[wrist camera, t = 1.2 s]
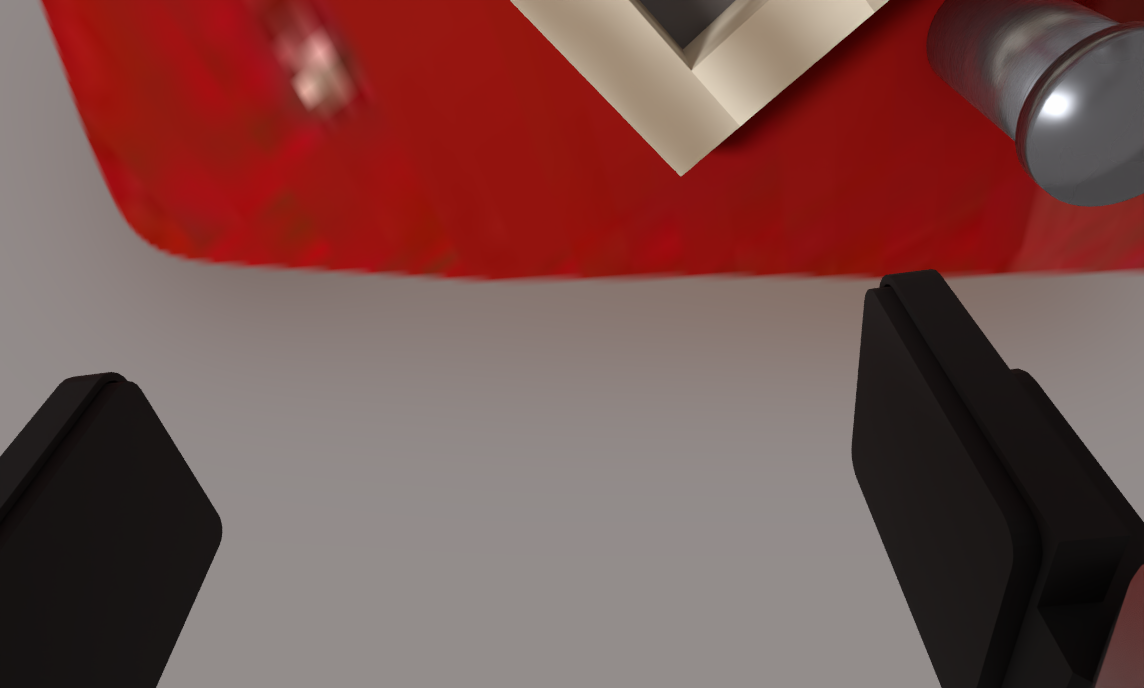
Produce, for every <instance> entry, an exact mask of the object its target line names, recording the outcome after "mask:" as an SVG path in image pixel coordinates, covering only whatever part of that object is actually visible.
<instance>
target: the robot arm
mask: <svg viewBox="0 0 1144 688" xmlns="http://www.w3.org/2000/svg"><path fill="white" fill-rule="evenodd" d="M853 426H854V427H853V438H852V461H853V467H854V471H855V475H856V478H857V480H858V483H859V485H860V488H861V490H862V492H863V495H864V497H865V500H866V502H867V505H868V507H869V510H870V512H871V514H872V517H873V520H874V522H875V524H876V527H877V529H878V532H879V534H880V537H881V539H882V542H883V544H884V546H885V549H886V551H887V554H888V557H889V559H890V561H891V564H892V566H893V569H894V571H895V574H896V576H897V579H898V581H899V584H900V586H901V589H902V591H903V593H904V596H905V598H906V601H907V603H908V606H909V608H910V611H911V613H912V616H913V618H914V621H915V623H916V625H917V628H918V631H919V633H920V635H921V638H922V640H923V643H924V645H925V648H926V650H927V653H928V655H929V657H930V660H931V662H932V665H933V667H934V670H935V672H936V675H937V677H938V680H939V682H940V685H941V687H942V688H1144V522H1143V521H1142V519H1141V518H1140V517H1139V515H1138V514H1137V513H1136V512H1135V510H1134V509H1133V508H1132V506H1131V505H1130V504H1129V503H1128V501H1127V500H1126V498H1125V497H1124V496H1123V494H1122V493H1121V492H1120V490H1119V489H1118V488H1117V487H1116V485H1115V484H1114V483H1113V481H1112V480H1111V479H1110V477H1109V476H1108V475H1107V474H1106V472H1105V471H1104V470H1103V468H1102V467H1101V466H1100V464H1099V463H1098V462H1097V460H1096V459H1095V458H1094V456H1093V455H1092V454H1091V452H1090V451H1089V450H1088V449H1087V447H1086V446H1085V445H1084V443H1083V442H1082V441H1081V439H1080V438H1079V437H1078V435H1077V434H1076V433H1075V431H1074V430H1073V429H1072V427H1071V426H1070V425H1069V424H1068V422H1067V421H1066V420H1065V418H1064V417H1063V416H1062V414H1061V413H1060V412H1059V410H1058V409H1057V408H1056V407H1055V405H1054V404H1053V402H1052V401H1051V400H1050V399H1049V397H1048V396H1047V395H1046V393H1045V392H1044V391H1043V389H1042V388H1041V387H1040V385H1039V384H1038V383H1037V382H1036V381H1035V379H1034V378H1033V377H1032V376H1031V375H1030V374H1029V373H1028V372H1026V371H1023V370H1021V369H1011V370H1010V369H1009V368H1008V366H1007V365H1006V363H1005V362H1004V361H1003V359H1002V358H1001V357H1000V355H999V354H998V353H997V351H996V350H995V348H994V347H993V346H992V344H991V343H990V342H989V340H988V339H987V338H986V336H985V335H984V333H983V332H982V331H981V329H980V328H979V327H978V325H977V324H976V323H975V321H974V320H973V319H972V317H971V316H970V314H969V313H968V312H967V310H966V309H965V308H964V306H963V305H962V303H961V302H960V301H959V299H958V298H957V296H956V295H955V294H954V292H953V291H952V290H951V288H950V287H949V286H948V284H947V283H946V281H945V280H944V279H943V277H942V276H941V275H940V274H939V273H938V272H937V271H936V270H933V269H929V270H921V271H913V272H905V273H898V274H890V275H885V276H884V277H883V278H882V280H881V282H880V287H879V288H874V289H869V290H868V291H867V292H866V295H865V300H864V312H863V323H862V334H861V346H860V358H859V368H858V381H857V392H856V403H855V414H854V425H853ZM221 538H222V523H221V519H220V517H219V515H218V513H217V512H216V510H215V508H214V507H213V505H212V504H211V502H210V500H209V499H208V497H207V495H206V494H205V492H204V490H203V489H202V487H201V486H200V484H199V483H198V481H197V479H196V478H195V476H194V474H193V473H192V471H191V469H190V468H189V466H188V465H187V463H186V461H185V460H184V458H183V457H182V455H181V453H180V452H179V450H178V448H177V447H176V445H175V444H174V442H173V440H172V439H171V437H170V435H169V434H168V432H167V431H166V429H165V427H164V426H163V424H162V423H161V421H160V419H159V418H158V416H157V415H156V413H155V411H154V410H153V408H152V406H151V405H150V403H149V402H148V400H147V398H146V397H145V395H144V393H143V392H142V390H141V389H140V388H139V387H138V385H137V384H135V383H133V382H130V381H127V380H126V379H125V378H124V377H123V376H122V375H120V374H118V373H114V372H108V373H100V374H92V375H84V376H76V377H71V378H68V379H65V380H64V381H63V382H62V383H61V384H59V386H58V387H57V388H56V389H55V391H54V392H53V393H52V394H51V395H50V397H49V398H48V399H47V400H46V401H45V403H44V404H43V405H42V406H41V408H40V409H39V410H38V411H37V413H36V414H35V415H34V416H33V417H32V419H31V420H30V421H29V422H28V423H27V425H26V426H25V427H24V428H23V430H22V431H21V432H20V433H19V434H18V436H17V437H16V438H15V439H14V441H13V442H12V443H11V444H10V445H9V447H8V448H7V449H6V450H5V451H4V453H3V454H2V455H1V456H0V688H156V686H157V684H158V682H159V680H160V677H161V675H162V673H163V671H164V668H165V666H166V664H167V662H168V659H169V657H170V655H171V653H172V650H173V648H174V646H175V644H176V641H177V639H178V637H179V634H180V632H181V630H182V628H183V626H184V624H185V621H186V619H187V617H188V615H189V612H190V610H191V608H192V605H193V603H194V601H195V599H196V597H197V594H198V592H199V590H200V587H201V585H202V583H203V581H204V579H205V577H206V574H207V572H208V570H209V568H210V565H211V563H212V561H213V559H214V556H215V554H216V552H217V549H218V547H219V545H220V542H221Z"/></svg>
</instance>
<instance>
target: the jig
mask: <svg viewBox="0 0 1144 688" xmlns="http://www.w3.org/2000/svg"><path fill="white" fill-rule="evenodd" d="M510 1H511V2H512V3H513V4H514V5H515V6H516V7H517V8H518V9H519V10H520V11H521V12H522V13H523V14H524V15H525V16H526V17H527V18H528V19H529V20H530V21H531V22H532V23H533V24H534V26H535V27H536V28H537V29H538V30H539V31H540V32H541V33H542V34H543V35H544V36H545V37H546V38H547V39H548V40H549V41H550V42H551V43H552V44H553V45H554V46H555V47H556V48H557V49H558V50H559V51H560V52H561V53H562V54H563V55H564V57H565V58H566V59H567V60H568V61H569V62H570V63H571V64H572V65H573V66H574V67H575V68H576V69H577V70H578V71H579V72H580V73H581V74H582V75H583V76H584V77H585V78H586V79H587V80H588V81H589V82H590V83H591V84H592V85H593V86H594V87H595V89H596V90H597V91H598V92H599V93H600V94H601V95H602V96H603V97H604V98H605V99H606V100H607V101H608V102H609V103H610V104H611V105H612V106H613V107H614V108H615V109H616V110H617V111H618V112H619V113H620V114H621V115H622V116H623V117H624V118H625V120H626V121H627V122H628V123H629V124H630V125H631V126H632V127H633V128H634V129H635V130H636V131H637V132H638V133H639V134H640V135H641V136H642V137H643V138H644V139H645V140H646V141H647V142H648V143H649V144H650V145H651V146H652V147H653V148H654V149H655V150H656V152H657V153H658V154H659V155H660V156H661V157H662V158H663V159H664V160H665V161H666V162H667V163H668V164H669V165H670V166H671V167H672V168H673V169H674V170H675V171H676V172H677V173H678V174H679V175H680V176H682V175H683V174H685V173H686V172H687V171H688V170H689V169H691V168H692V167H693V166H694V165H695V164H696V163H698V162H699V161H700V160H701V159H702V158H704V157H705V156H706V155H707V154H708V153H709V152H711V151H712V150H713V149H714V148H715V147H717V146H718V145H719V144H720V143H721V142H722V141H724V140H725V139H726V138H727V137H728V136H730V135H731V134H732V133H733V132H734V131H735V130H737V129H738V128H739V127H740V126H741V125H742V124H744V123H745V122H746V121H747V120H748V119H750V118H751V117H752V116H753V115H754V114H755V113H757V112H758V111H759V110H760V109H761V108H763V107H764V106H765V105H766V104H767V103H768V102H770V101H771V100H772V99H773V98H774V97H776V96H777V95H778V94H779V93H780V92H781V91H783V90H784V89H785V88H786V87H787V86H789V85H790V84H791V83H792V82H793V81H794V80H796V79H797V78H798V77H799V76H800V75H802V74H803V73H804V72H805V71H806V70H807V69H809V68H810V67H811V66H812V65H813V64H814V63H816V62H817V61H818V60H819V59H820V58H822V57H823V56H824V55H825V54H826V53H827V52H829V51H830V50H831V49H832V48H833V47H835V46H836V45H837V44H838V43H839V42H840V41H842V40H843V39H844V38H845V37H846V36H848V35H849V34H850V33H851V32H852V31H853V30H855V29H856V28H857V27H858V26H859V25H861V24H862V23H863V22H864V21H865V20H866V19H868V18H869V17H870V16H871V15H872V14H873V13H875V12H876V11H877V10H878V9H879V8H881V7H882V6H883V5H884V4H885V3H886V2H888V1H889V0H510Z"/></svg>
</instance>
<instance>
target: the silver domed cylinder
mask: <svg viewBox="0 0 1144 688" xmlns="http://www.w3.org/2000/svg"><path fill="white" fill-rule="evenodd" d="M927 56H928V60H929V63H930V65H931V67H932V69H933V70H934V72H935V73H936V74H937V75H938V76H939V77H940V78H941V79H943V80H944V81H945V82H946V83H947V84H948V85H950V86H951V87H952V88H953V89H954V90H955V91H957V92H958V93H959V94H960V95H961V96H963V97H964V98H965V99H966V100H967V101H968V102H970V103H971V104H972V105H973V106H974V107H975V108H977V109H978V110H979V111H980V112H981V113H983V114H984V115H985V116H986V117H987V118H988V119H990V120H991V121H992V122H993V123H994V124H996V125H997V126H998V127H999V128H1000V129H1001V130H1003V131H1004V132H1005V133H1006V134H1007V135H1008V136H1010V137H1011V138H1012V139H1013V140H1014V141H1015V146H1016V152H1017V156H1018V159H1019V162H1020V164H1021V165H1022V167H1023V169H1024V170H1025V172H1026V173H1027V174H1028V175H1029V176H1030V177H1031V178H1032V179H1033V180H1034V181H1035V182H1036V183H1037V184H1038V185H1040V186H1041V187H1042V188H1043V189H1044V190H1045V191H1046V192H1048V193H1049V194H1050V195H1051V196H1053V197H1055V198H1056V199H1058V200H1060V201H1063V202H1065V203H1068V204H1073V205H1078V206H1103V205H1109V204H1114V203H1118V202H1122V201H1125V200H1128V199H1131V198H1133V197H1136V196H1138V195H1141V194H1143V193H1144V20H1142V21H1131V22H1126V23H1119V22H1116V21H1114V20H1112V19H1110V18H1108V17H1106V16H1104V15H1102V14H1100V13H1097V12H1095V11H1093V10H1091V9H1089V8H1087V7H1085V6H1083V5H1081V4H1078V3H1076V2H1074V1H1072V0H945V1H944V3H943V4H942V5H941V7H940V8H939V9H938V11H937V13H936V15H935V16H934V18H933V21H932V23H931V25H930V28H929V32H928V36H927Z"/></svg>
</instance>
